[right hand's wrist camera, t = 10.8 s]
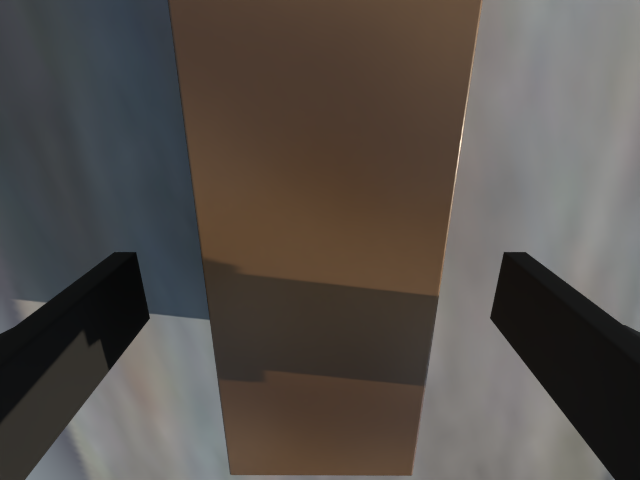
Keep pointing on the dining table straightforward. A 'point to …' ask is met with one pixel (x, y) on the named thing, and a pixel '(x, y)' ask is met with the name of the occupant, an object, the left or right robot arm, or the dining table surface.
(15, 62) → the dining table surface
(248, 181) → the beam
